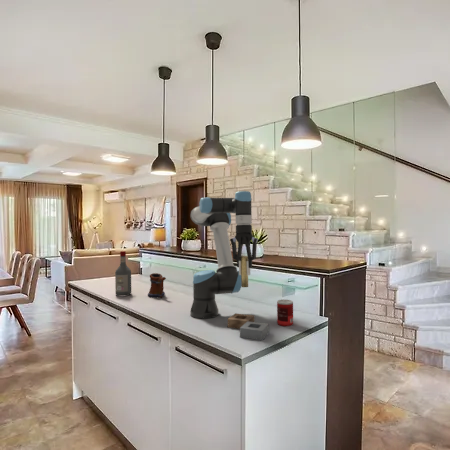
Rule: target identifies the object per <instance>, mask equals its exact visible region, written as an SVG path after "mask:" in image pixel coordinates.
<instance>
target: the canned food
mask: <svg viewBox="0 0 450 450" xmlns="http://www.w3.org/2000/svg"><path fill="white" fill-rule="evenodd" d="M276 311H277V312H276V319H277V320H276V321H277V322H276V323H277V325H278V326H280V327H291V326H293V325H294V301H293V300H290V299H278V300H277V301H276Z"/></svg>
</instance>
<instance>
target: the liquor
mask: <svg viewBox="0 0 450 450" xmlns="http://www.w3.org/2000/svg"><path fill="white" fill-rule="evenodd" d="M126 253H127V252H126V251H123V250H122V251H120V252H119V259H120V262H119V263H120V264H119V266H118V267H117V269H115V271H114V275H115V278H114V279H115V281H114V282H115V283H114V284H115V295H116V296H117V295H128V294H130V293H131V294H132V270H131V269H130V267H129V266H127V263H126V256H127V254H126ZM131 294H130V295H131ZM128 296H129V295H128Z"/></svg>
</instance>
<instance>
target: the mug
mask: <svg viewBox="0 0 450 450" xmlns="http://www.w3.org/2000/svg"><path fill="white" fill-rule="evenodd" d="M149 278H150V279H149V281H150V287H149V288H150V289H149V291H148V292H147V297H148V298H151V297H152V299H155V298H156V299H157V297H158V298H161V299H163V297H165V295H166V293H165V291H164V281H165V280H166V279H167V278H166V277H165V276H163V275H162V274H161V273H156V272H155V273H154V272H153V273H151V274H149Z"/></svg>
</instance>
